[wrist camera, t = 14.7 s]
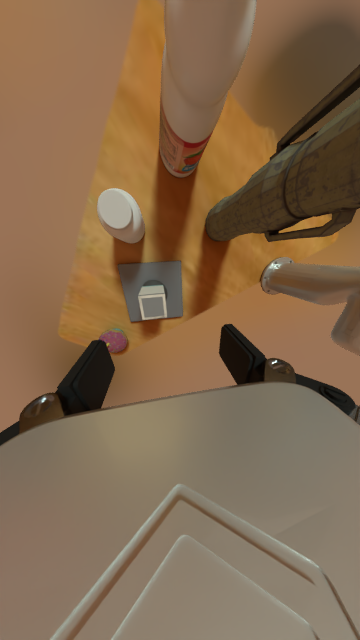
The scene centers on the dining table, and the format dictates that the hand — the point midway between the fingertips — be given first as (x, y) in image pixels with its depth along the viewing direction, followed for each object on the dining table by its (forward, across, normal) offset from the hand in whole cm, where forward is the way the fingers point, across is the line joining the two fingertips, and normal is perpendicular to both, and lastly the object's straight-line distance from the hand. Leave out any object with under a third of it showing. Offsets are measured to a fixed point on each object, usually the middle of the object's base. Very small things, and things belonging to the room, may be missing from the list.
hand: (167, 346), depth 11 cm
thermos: (+36, -18, -14) cm, 42 cm away
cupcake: (+35, +18, +18) cm, 44 cm away
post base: (+35, +3, +4) cm, 36 cm away
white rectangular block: (+31, +3, +4) cm, 32 cm away
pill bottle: (+35, +6, -14) cm, 39 cm away
